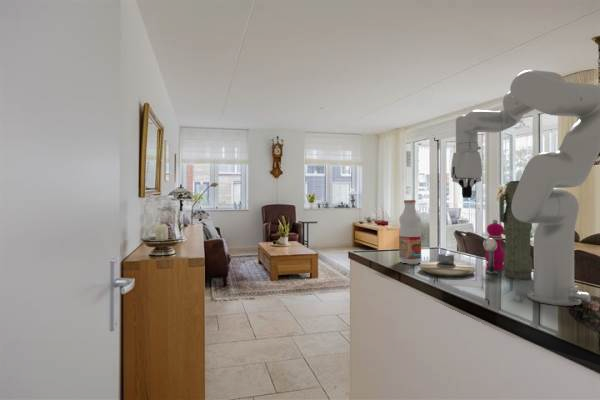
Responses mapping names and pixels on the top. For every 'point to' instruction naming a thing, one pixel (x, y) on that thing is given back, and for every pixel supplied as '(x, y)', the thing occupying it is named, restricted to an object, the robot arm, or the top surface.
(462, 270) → the turntable
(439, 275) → the turntable base
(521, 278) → the thermos
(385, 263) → the top surface
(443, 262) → the cover
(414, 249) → the fruit juice
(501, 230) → the pepper mill
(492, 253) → the globe topped trophy
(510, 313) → the top surface
